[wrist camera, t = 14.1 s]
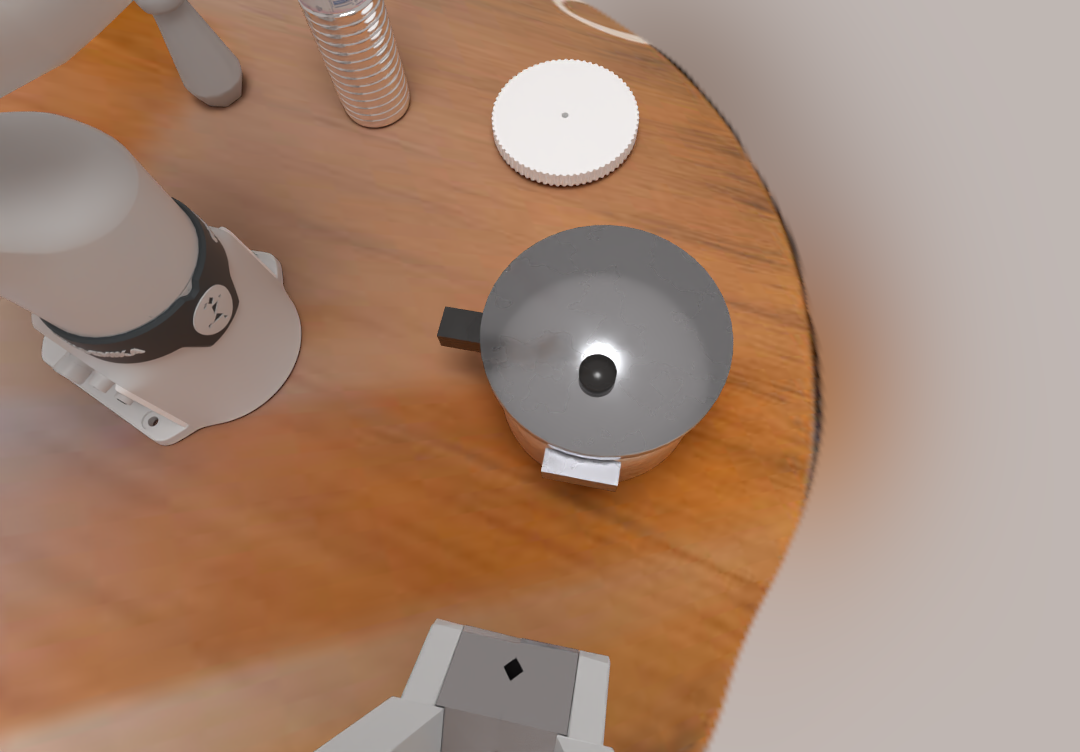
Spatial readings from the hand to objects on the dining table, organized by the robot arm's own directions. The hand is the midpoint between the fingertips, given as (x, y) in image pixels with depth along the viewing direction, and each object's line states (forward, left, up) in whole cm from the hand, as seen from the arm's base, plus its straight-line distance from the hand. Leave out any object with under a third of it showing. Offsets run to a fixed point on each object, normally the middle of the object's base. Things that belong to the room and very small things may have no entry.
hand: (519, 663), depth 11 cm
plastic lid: (-15, +43, -40) cm, 61 cm away
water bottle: (-34, +40, -40) cm, 66 cm away
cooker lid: (-3, +19, -29) cm, 35 cm away
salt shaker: (-50, +36, -40) cm, 74 cm away
